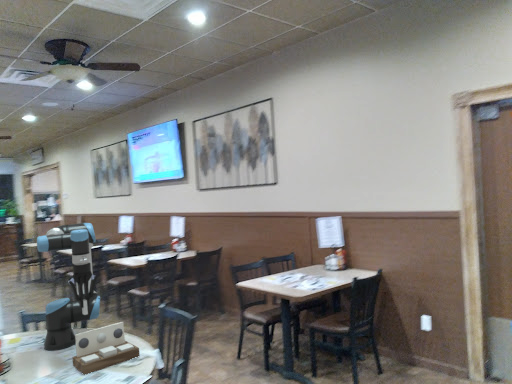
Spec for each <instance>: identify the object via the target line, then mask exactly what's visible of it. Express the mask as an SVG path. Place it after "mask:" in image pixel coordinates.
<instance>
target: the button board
mask: <svg viewBox="0 0 512 384" xmlns="http://www.w3.org/2000/svg"><path fill="white" fill-rule="evenodd" d="M128 343H129V344H131V345H133V346H134V348H133V349H130V350H127V351H124V352H119V351H118V350H117V354H115V355H111V356H108V357H105V358H103V357H101V356H100V355H99V351H97V352H93V353H90V354H87V355H84V356H80V357H77V355H74V356H72V359H71V360H72V366H73V368H75V369H76V370H77V371H79V373H80V374H82V373H83V374H84V375H83V374H82V375H83V376H86V375H89V374H92V373H95V372H97V371H101V370H104V369H107V368H111V367H112V366H116V365H118V364H121V363H125V362H128V361H131V360H133V359H132V358H134V359H136V358H135V357H137V358H139V357H138V356H140V355H141V354H140V347H138V346H136V345H134V344H132V343H130V342H128V341H126V340H125V343H123V344H120V345H117V346H113V347H115V348H116V347H118V346H122V345H125V344H128ZM92 354H96V355H97V356H99V360H96V361H93V362H89V363H86V364H84V363H83V362H81V358H82V357H86V356H89V355H92ZM130 359H131V360H130ZM127 360H128V361H127ZM91 372H92V373H91ZM88 373H89V374H88ZM85 374H86V375H85Z"/></svg>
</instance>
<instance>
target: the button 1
mask: <svg viewBox="0 0 512 384" xmlns="http://www.w3.org/2000/svg"><path fill="white" fill-rule="evenodd" d="M96 360H99V356H97V355H96V354H92V355H89V356H86V357H82V358H81V362H83V363H84V364H86V363H89V362H93V361H96Z"/></svg>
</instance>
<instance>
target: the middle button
mask: <svg viewBox="0 0 512 384" xmlns="http://www.w3.org/2000/svg"><path fill="white" fill-rule="evenodd" d="M115 354H117V348H115V347H113V346H109V347H106V348H103V349H100V350H99V355H100V356H101V357H103V358H105V357H108V356H111V355H115Z"/></svg>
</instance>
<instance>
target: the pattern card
mask: <svg viewBox="0 0 512 384" xmlns="http://www.w3.org/2000/svg"><path fill="white" fill-rule="evenodd" d="M124 326H125V325H124V321H121V322H116V323H112V324H108V325H106V326H102V327H98V328H94V329H91V330H86V331H81V332H79V333H74V334H75V339H76V343H75V349H76V351H75V352H76V356H77V357H80V356H84V355H87V354H90V353H93V352H97V351H99V350H100V349H103V348H106V347H109V346H117V345H120V344H123V343H125V341H126V339H125V327H124Z"/></svg>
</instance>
